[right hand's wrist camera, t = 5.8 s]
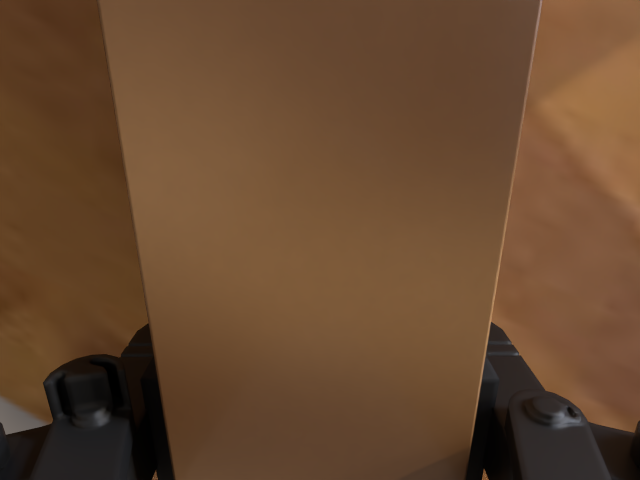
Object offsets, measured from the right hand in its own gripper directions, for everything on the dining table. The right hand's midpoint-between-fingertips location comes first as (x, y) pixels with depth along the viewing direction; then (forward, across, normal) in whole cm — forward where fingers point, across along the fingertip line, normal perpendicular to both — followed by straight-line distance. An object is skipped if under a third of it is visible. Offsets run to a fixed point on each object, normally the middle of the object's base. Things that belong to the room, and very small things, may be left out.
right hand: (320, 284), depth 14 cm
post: (+1, 0, -30) cm, 30 cm away
